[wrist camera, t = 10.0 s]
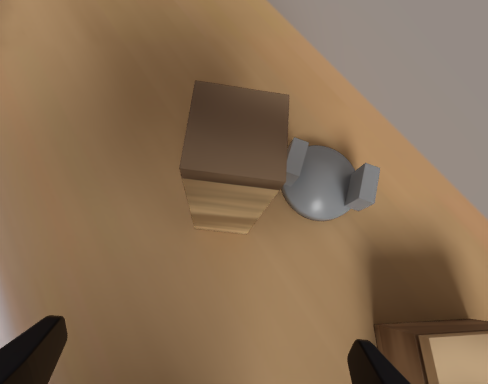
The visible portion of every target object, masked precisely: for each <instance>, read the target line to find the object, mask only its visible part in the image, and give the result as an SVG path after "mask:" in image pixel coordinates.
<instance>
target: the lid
mask: <svg viewBox="0 0 488 384" xmlns="http://www.w3.org/2000/svg"><path fill="white" fill-rule="evenodd" d="M418 336H419V341H420V345H421V350H422V355H423V359H424V364H425V369H426V373H427V378H428V383H429V384H488V331H478V332H463V333H447V334H432V335H418Z"/></svg>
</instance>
